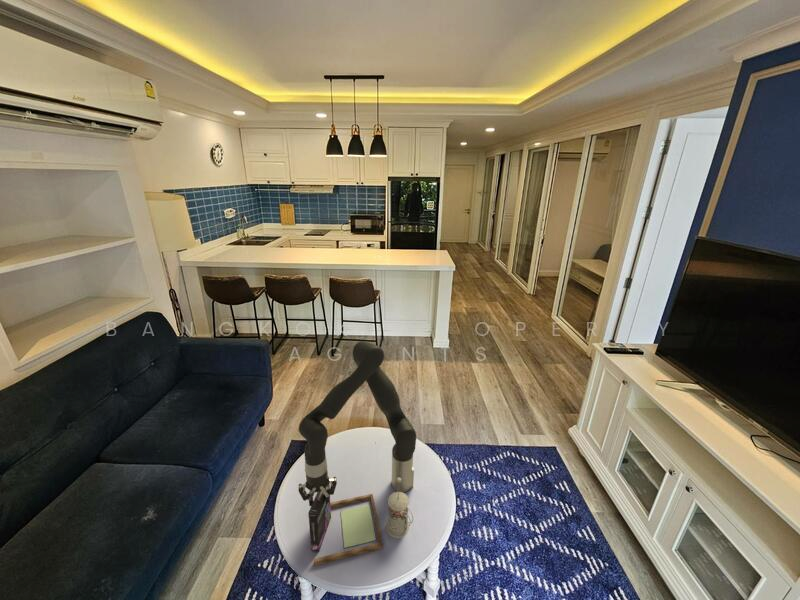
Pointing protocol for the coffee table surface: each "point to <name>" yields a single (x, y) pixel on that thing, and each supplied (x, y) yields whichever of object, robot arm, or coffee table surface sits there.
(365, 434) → the coffee table surface
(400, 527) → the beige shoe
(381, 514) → the coffee table surface
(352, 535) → the bay
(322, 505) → the box
